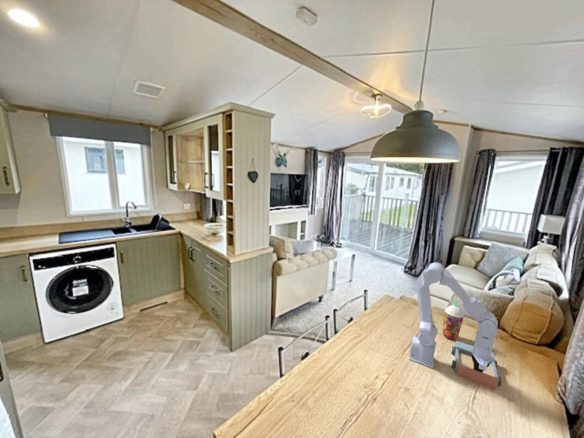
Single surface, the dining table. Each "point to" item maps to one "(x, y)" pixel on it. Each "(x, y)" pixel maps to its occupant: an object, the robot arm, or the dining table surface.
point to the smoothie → (452, 321)
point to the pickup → (465, 358)
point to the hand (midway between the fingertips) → (477, 374)
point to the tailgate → (477, 376)
